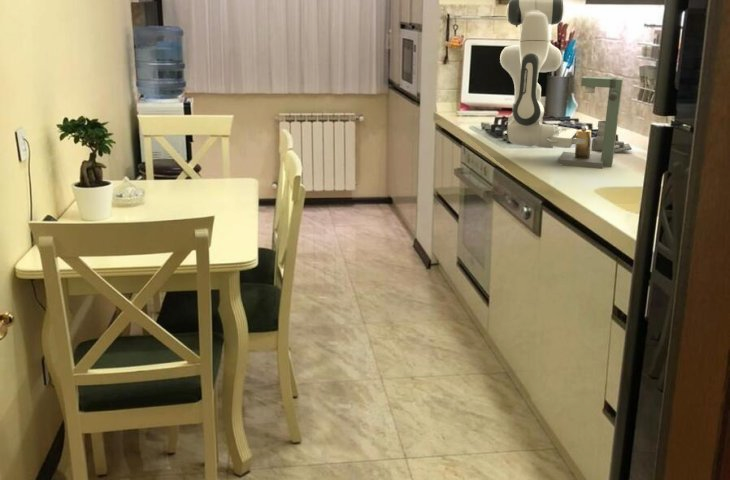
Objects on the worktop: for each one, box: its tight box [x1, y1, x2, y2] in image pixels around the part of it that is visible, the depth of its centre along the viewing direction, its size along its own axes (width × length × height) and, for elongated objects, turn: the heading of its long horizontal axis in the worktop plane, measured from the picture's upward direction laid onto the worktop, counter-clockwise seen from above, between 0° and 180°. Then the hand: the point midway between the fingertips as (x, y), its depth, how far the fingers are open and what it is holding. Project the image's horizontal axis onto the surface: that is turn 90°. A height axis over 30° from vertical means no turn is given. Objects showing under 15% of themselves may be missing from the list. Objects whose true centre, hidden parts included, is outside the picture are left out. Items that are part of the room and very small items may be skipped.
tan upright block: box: [574, 126, 592, 159], centre depth 283 cm, size 5×5×12 cm
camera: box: [590, 120, 633, 154], centre depth 303 cm, size 9×12×15 cm
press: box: [557, 75, 624, 169], centre depth 277 cm, size 20×19×32 cm
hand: (586, 139), depth 282 cm, fingers open, 6 cm apart
